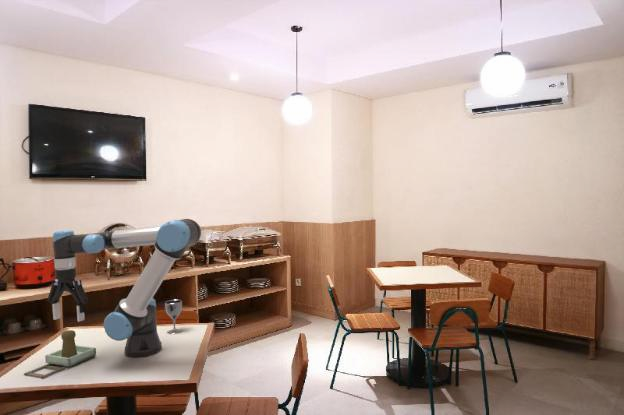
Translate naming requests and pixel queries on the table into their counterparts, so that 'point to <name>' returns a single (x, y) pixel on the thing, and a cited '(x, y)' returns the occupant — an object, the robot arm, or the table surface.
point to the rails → (48, 366)
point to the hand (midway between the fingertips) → (68, 319)
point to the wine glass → (173, 312)
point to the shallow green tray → (81, 355)
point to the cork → (68, 344)
